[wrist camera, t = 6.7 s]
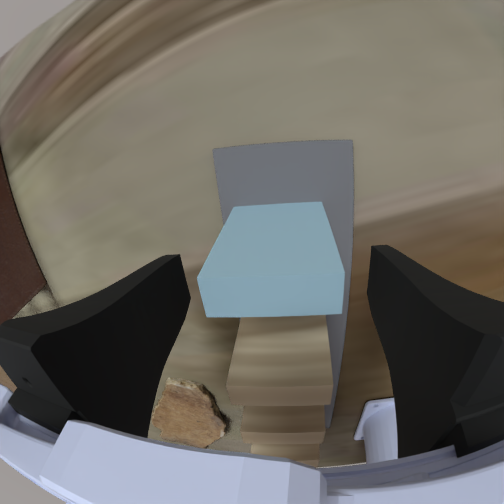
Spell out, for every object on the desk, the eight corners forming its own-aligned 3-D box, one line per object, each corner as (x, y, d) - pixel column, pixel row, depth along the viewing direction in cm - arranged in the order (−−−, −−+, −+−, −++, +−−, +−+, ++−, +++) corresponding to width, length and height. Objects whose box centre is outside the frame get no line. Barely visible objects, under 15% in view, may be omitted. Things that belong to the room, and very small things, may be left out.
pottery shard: (147, 425, 31) (143, 436, 29) (169, 364, 24) (163, 379, 22) (204, 447, 32) (201, 458, 30) (251, 396, 24) (249, 411, 23)
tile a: (246, 293, 18) (225, 385, 12) (322, 290, 17) (333, 384, 11) (249, 314, 19) (231, 404, 12) (321, 311, 18) (330, 404, 12)
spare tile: (233, 206, 15) (196, 278, 9) (321, 201, 15) (344, 272, 9) (237, 234, 16) (206, 316, 10) (322, 230, 15) (341, 313, 9)
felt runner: (350, 139, 13) (352, 140, 13) (329, 424, 25) (329, 427, 25) (214, 148, 14) (212, 149, 14) (260, 426, 26) (260, 429, 26)
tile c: (259, 383, 22) (249, 459, 16) (317, 382, 21) (319, 460, 15) (261, 394, 23) (252, 467, 16) (316, 393, 22) (317, 467, 16)
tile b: (254, 345, 20) (240, 431, 14) (320, 343, 19) (325, 431, 13) (256, 360, 21) (243, 443, 14) (319, 358, 20) (323, 443, 14)
